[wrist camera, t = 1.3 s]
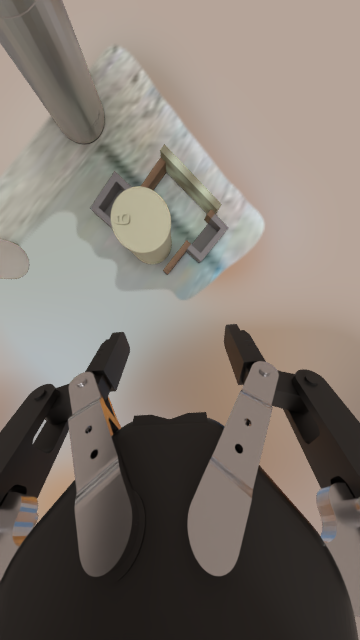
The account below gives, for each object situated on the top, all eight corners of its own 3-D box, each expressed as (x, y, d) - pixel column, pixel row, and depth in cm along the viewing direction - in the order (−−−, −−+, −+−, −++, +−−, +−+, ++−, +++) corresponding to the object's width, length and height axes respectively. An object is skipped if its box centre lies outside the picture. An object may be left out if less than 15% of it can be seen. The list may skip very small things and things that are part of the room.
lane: (116, 230, 33) (109, 223, 29) (165, 162, 31) (164, 144, 27) (167, 274, 36) (167, 273, 32) (215, 214, 34) (221, 204, 30)
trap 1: (186, 251, 35) (187, 248, 32) (211, 219, 34) (215, 213, 31) (199, 263, 36) (201, 261, 33) (224, 232, 34) (228, 227, 32)
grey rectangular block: (129, 219, 33) (105, 181, 21) (171, 220, 33) (171, 184, 22) (131, 264, 35) (111, 252, 23) (171, 264, 35) (171, 253, 24)
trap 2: (96, 214, 32) (89, 208, 30) (119, 179, 31) (114, 170, 29) (116, 231, 33) (111, 227, 31) (139, 198, 32) (136, 191, 30)
